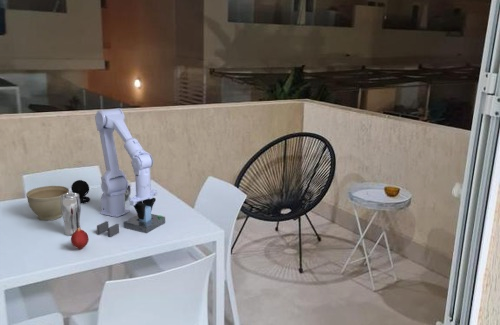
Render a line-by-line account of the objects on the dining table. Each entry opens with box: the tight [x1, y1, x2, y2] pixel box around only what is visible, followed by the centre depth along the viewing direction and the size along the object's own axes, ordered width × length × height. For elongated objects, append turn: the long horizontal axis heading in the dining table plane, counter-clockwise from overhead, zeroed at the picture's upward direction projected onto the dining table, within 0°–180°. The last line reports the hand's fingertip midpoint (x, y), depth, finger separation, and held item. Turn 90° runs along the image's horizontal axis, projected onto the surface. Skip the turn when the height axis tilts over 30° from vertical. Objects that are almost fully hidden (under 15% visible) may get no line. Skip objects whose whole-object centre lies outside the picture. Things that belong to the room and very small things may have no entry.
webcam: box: [70, 179, 91, 204], centre depth 213 cm, size 8×8×10 cm
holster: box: [96, 221, 120, 238], centre depth 179 cm, size 6×5×4 cm
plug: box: [139, 206, 152, 222], centre depth 187 cm, size 4×4×7 cm
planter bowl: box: [25, 185, 70, 221], centre depth 194 cm, size 16×16×11 cm
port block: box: [123, 213, 166, 234], centre depth 187 cm, size 11×12×3 cm
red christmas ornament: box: [70, 227, 90, 250], centre depth 165 cm, size 6×6×8 cm
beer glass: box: [60, 192, 82, 237], centre depth 177 cm, size 7×7×15 cm
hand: (144, 217), depth 187 cm, fingers closed on plug, 3 cm apart
